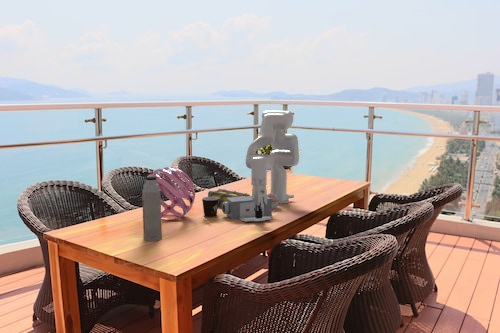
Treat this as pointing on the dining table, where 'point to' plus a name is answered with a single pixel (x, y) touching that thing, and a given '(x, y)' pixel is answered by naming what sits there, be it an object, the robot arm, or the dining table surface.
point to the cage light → (225, 195)
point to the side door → (255, 218)
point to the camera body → (244, 207)
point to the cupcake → (273, 200)
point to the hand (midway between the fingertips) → (258, 217)
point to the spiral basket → (175, 191)
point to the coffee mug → (210, 206)
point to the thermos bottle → (151, 210)
